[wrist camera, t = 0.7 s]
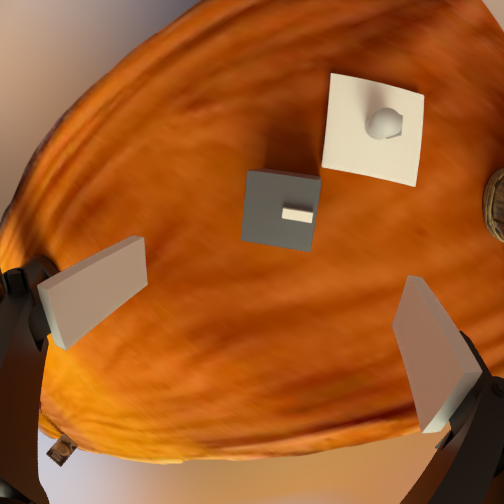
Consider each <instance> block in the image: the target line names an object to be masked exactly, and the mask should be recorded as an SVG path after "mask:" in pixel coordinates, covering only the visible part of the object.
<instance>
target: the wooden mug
mask: <svg viewBox="0 0 504 504" xmlns="http://www.w3.org/2000/svg"><path fill="white" fill-rule="evenodd" d="M483 212H484V217H485V223H486V226H487V229H488V230H489V232H490V233H491V234H492V235H493V236H494V237H495V238H496V239H498V240H500V241H502V242H504V168H501V169H499V170H497V171H496V172H495V173H494V174H493V175H492V176H491V178H490V179H489V181H488V183H487V185H486V187H485V191H484V195H483Z"/></svg>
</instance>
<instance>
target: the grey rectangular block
mask: <svg viewBox="0 0 504 504" xmlns="http://www.w3.org/2000/svg"><path fill="white" fill-rule="evenodd" d="M320 188H321V178H320V176H316V175H309V174H303V173H296V172H289V171H282V170H274V169H266V168H261V169H254V170H248V171H247V181H246V191H245V201H244V211H243V222H242V233H241V240H242V241H248V242H254V243H260V244H266V245H271V246H277V247H283V248H289V249H295V250H301V251H306V252H310V250H311V245H312V239H313V233H314V227H315V221H316V215H317V208H318V202H319V195H320Z"/></svg>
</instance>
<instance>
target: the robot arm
mask: <svg viewBox="0 0 504 504" xmlns="http://www.w3.org/2000/svg"><path fill="white" fill-rule="evenodd" d="M146 285H148V283H147V273H146V261H145V247H144V237H139V236H131V237H129V238H127V239H124V240H122V241H120V242H118V243H116V244H114V245H112V246H110V247H108V248H106V249H104V250H102V251H100V252H98V253H96V254H94V255H92V256H90V257H88V258H86V259H84V260H82V261H80V262H78V263H77V264H75V265H73V266H71V267H69V268H67V269H65V270H63V271H61V272H60V273H59V271H58V270H57V268H56V267H55V266H54V264H53V263H52V262H51V261H50V260H49V259H48V258H46V257H45V256H43V255H35V256H33V257H31V258H29V259H27V260H26V261H25V262H24V263H23V265H22V266H21V267H20V268H13V269H11V270H8V271H6V272H5V273H3V274H2V272H1V268H0V504H49V500H48V497H47V495H46V492H45V491H44V489H43V487H42V486H41V484H40V481H39V477H38V453H37V452H38V450H37V449H38V446H37V445H38V442H37V441H38V418H39V405H40V395H41V387H42V379H43V372H44V366H45V360H46V355H47V350H48V345H49V343H48V339H47V335H49V334H50V333H51V334H52V337H53V339H54V342H55V344H56V345H57V346H59V347H61V348H62V349H64V350H66V351H67V350H68V349H69V348H70V347H71V346H72V345H74V344H75V343H76V342H77V341H78V340H80V339H81V338H82V337H83V336H84V335H86V334H87V333H88V332H89V331H90V330H92V329H93V328H94V327H95V326H96V325H98V324H99V323H100V322H101V321H103V320H104V319H105V318H106V317H107V316H109V315H110V314H111V313H112V312H114V311H115V310H116V309H117V308H119V307H120V306H121V305H122V304H124V303H125V302H126V301H127V300H129V299H130V298H131V297H132V296H134V295H135V294H136V293H137V292H139V291H140V290H141V289H143V288H144V287H145V286H146ZM392 328H393V331H394V334H395V337H396V340H397V343H398V346H399V349H400V352H401V355H402V359H403V362H404V365H405V369H406V372H407V376H408V379H409V383H410V386H411V390H412V394H413V398H414V402H415V406H416V410H417V415H418V419H419V424H420V428H421V433H432V432H440V431H441V430H442V428H443V427H444V426H445V425H446V423H447V422H448V421H449V422H450V425H451V430H450V431H449V432H448V433H447V435H446V436H445V437H444V438H443V439H442V440H441V441H440V442H439V444H438V445H437V446H436V447H435V448H436V449H437V448H438V447H439V446H440V447H439V448H438V450H437V452H436V453H435V455H434V456H433V458H432V460H431V461H430V463H429V464H428V466H427V467H426V469H425V470H424V472H423V473H422V475H421V476H420V478H419V479H418V480H417V482H416V483H415V485H414V486H413V487H412V489H411V490H410V491H409V492H408V494H407V495H406V496H405V498H404V499H403V500H402V501H401V503H400V504H504V379H503V378H500V377H497V376H492V375H491V373H490V372H489V370H488V368H487V366H486V365H485V363H484V361H483V359H482V358H481V356H480V355H479V353H478V351H477V349H476V348H475V346H474V344H473V343H472V341H471V340H470V338H469V337H468V336H466V335H465V334H464V333H463V332H462V331H459V330H458V329H457V327H456V326H455V324H454V323H453V321H452V320H451V318H450V317H449V315H448V314H447V312H446V311H445V309H444V308H443V306H442V305H441V303H440V302H439V300H438V299H437V298H436V296H435V295H434V293H433V292H432V291H431V289H430V288H429V286H428V285H427V284H426V282H425V281H424V280H423V278H422V277H417V276H410V275H408V276H407V280H406V283H405V287H404V290H403V293H402V297H401V300H400V303H399V306H398V309H397V312H396V315H395V318H394V321H393V324H392Z"/></svg>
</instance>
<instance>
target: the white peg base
mask: <svg viewBox="0 0 504 504" xmlns="http://www.w3.org/2000/svg"><path fill="white" fill-rule="evenodd" d="M423 109H424V95H421V94H418V93H415V92H412V91H408V90H405V89H401V88H398V87H394V86H390V85H387V84H383V83H379V82H374V81H370V80H365V79H361V78H356V77H351V76H345V75H339V74H333V73H331V77H330V89H329V101H328V112H327V122H326V132H325V141H324V149H323V157H322V165H321V167H324V168H330V169H336V170H341V171H346V172H352V173H357V174H362V175H367V176H371V177H376V178H380V179H385V180H389V181H393V182H398V183H402V184H406V185H410V186H414V187H415V185H416V179H417V172H418V165H419V157H420V148H421V138H422V126H423Z"/></svg>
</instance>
